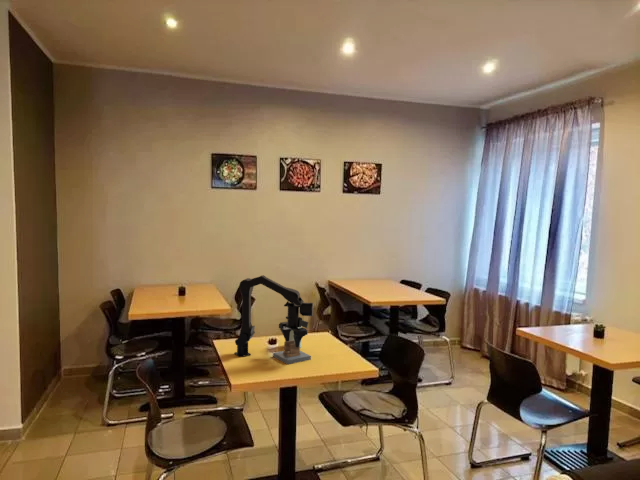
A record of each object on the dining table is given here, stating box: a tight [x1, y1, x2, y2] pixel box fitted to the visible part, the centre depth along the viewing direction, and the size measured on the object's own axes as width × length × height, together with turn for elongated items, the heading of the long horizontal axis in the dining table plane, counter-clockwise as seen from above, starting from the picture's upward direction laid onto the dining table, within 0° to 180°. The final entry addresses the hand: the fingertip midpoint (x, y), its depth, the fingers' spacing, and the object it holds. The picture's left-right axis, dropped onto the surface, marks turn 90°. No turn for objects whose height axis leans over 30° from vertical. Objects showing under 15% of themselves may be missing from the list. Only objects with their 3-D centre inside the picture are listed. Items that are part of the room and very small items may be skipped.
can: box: [284, 326, 303, 349], centre depth 252 cm, size 9×9×12 cm
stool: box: [282, 340, 301, 357], centre depth 233 cm, size 7×6×6 cm
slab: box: [272, 350, 312, 365], centre depth 233 cm, size 14×14×2 cm
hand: (292, 345), depth 233 cm, fingers open, 9 cm apart
